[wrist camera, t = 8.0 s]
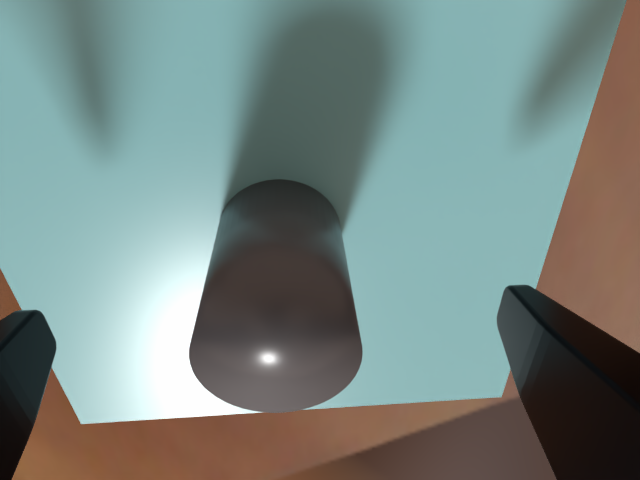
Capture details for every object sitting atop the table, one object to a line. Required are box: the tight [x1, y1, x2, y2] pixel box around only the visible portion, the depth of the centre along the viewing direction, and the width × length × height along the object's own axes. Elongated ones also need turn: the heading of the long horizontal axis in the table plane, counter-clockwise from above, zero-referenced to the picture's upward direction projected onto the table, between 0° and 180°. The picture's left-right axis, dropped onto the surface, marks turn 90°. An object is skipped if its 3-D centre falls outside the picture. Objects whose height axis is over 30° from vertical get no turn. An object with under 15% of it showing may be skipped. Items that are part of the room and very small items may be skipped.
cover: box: [0, 0, 626, 424], centre depth 10 cm, size 14×14×5 cm
